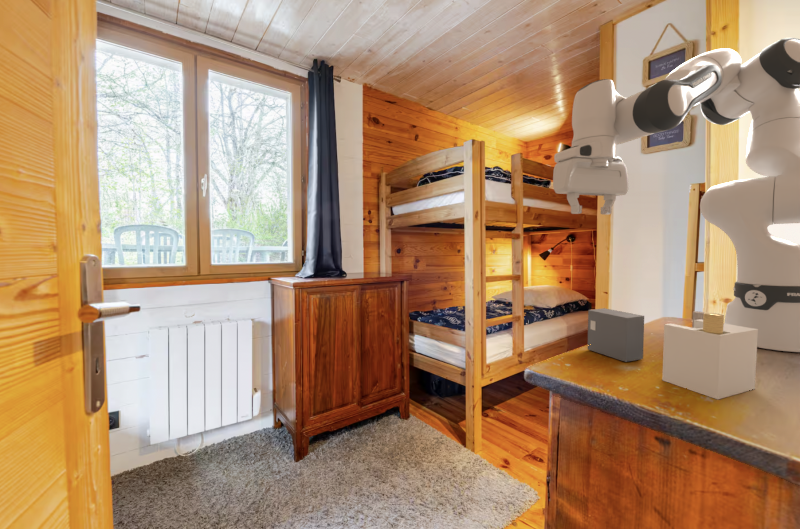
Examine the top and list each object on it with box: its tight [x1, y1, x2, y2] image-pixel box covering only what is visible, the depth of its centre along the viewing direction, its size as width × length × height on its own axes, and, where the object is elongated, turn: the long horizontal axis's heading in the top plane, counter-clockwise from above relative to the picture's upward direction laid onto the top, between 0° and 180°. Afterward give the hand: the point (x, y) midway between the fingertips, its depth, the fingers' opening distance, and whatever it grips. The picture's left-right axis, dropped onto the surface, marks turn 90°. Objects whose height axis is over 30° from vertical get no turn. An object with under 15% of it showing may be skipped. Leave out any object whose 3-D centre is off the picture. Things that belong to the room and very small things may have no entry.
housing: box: [662, 319, 758, 400], centre depth 58 cm, size 10×8×10 cm
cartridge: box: [587, 307, 645, 363], centre depth 74 cm, size 5×9×9 cm, turn 20°
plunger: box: [703, 312, 725, 335], centre depth 55 cm, size 2×2×6 cm
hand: (591, 214), depth 80 cm, fingers open, 8 cm apart
